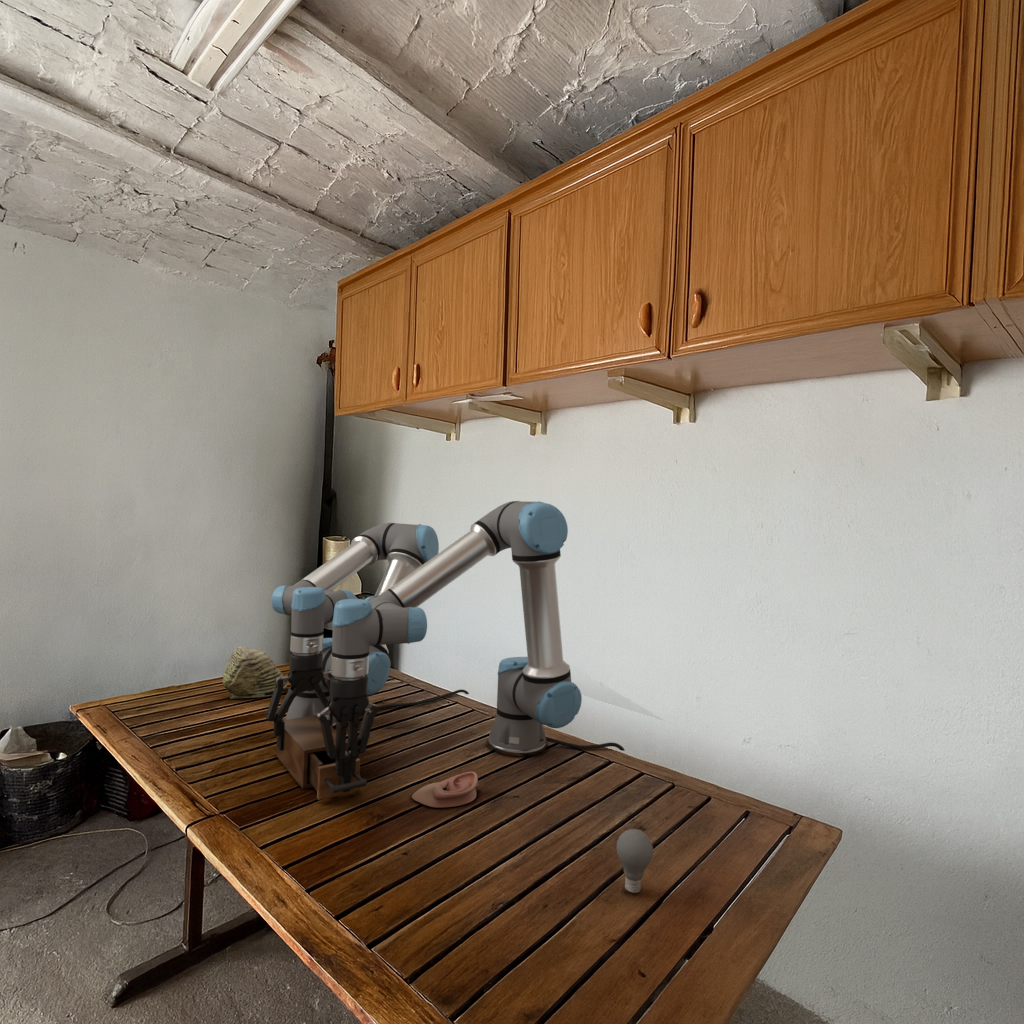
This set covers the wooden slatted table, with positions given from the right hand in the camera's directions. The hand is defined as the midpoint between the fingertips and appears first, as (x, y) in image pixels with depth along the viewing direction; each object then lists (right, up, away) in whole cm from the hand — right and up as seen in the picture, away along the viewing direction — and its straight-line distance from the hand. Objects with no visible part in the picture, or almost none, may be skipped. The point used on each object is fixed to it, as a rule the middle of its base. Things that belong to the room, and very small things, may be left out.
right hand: (344, 788), depth 130 cm
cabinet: (-13, -3, +18) cm, 22 cm away
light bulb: (+55, -6, -25) cm, 60 cm away
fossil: (-46, 0, +68) cm, 82 cm away
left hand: (-16, +1, +22) cm, 27 cm away
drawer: (-6, -2, +8) cm, 10 cm away
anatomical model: (+20, -4, +6) cm, 21 cm away
